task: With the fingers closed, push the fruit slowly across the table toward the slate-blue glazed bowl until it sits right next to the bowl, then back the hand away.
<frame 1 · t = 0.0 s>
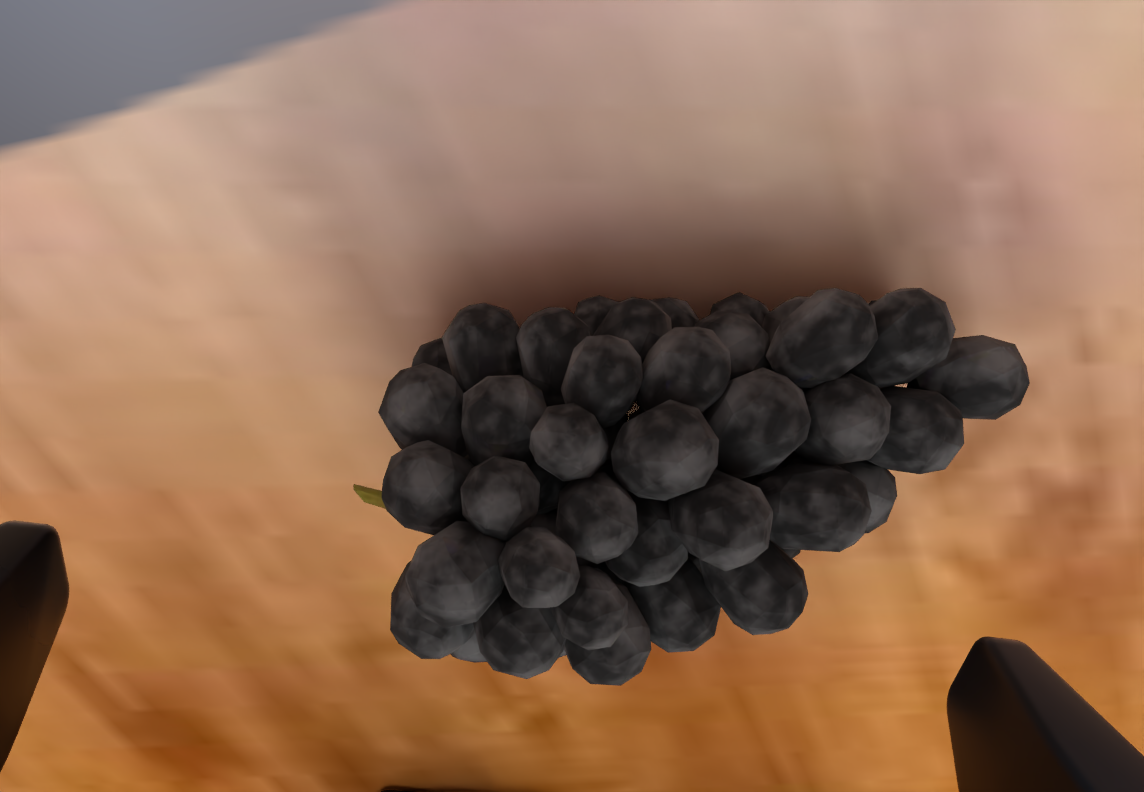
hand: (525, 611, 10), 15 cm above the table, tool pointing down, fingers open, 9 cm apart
fruit: (685, 373, 26), on the table
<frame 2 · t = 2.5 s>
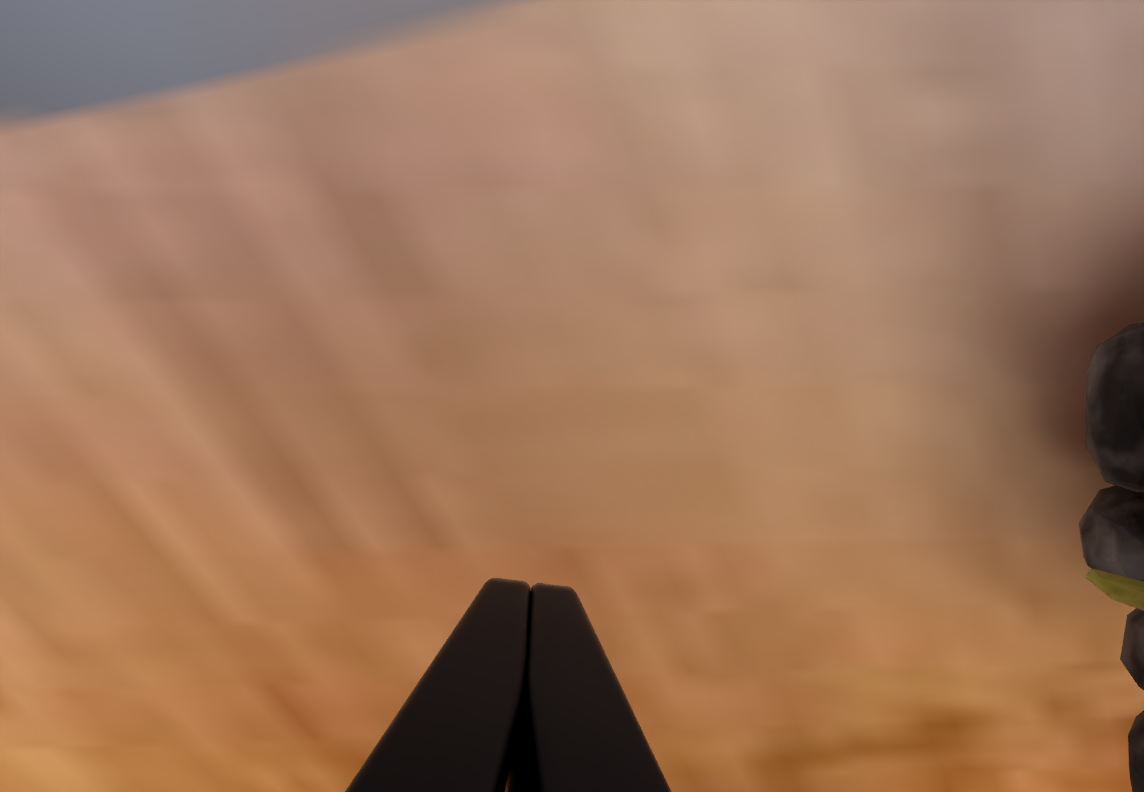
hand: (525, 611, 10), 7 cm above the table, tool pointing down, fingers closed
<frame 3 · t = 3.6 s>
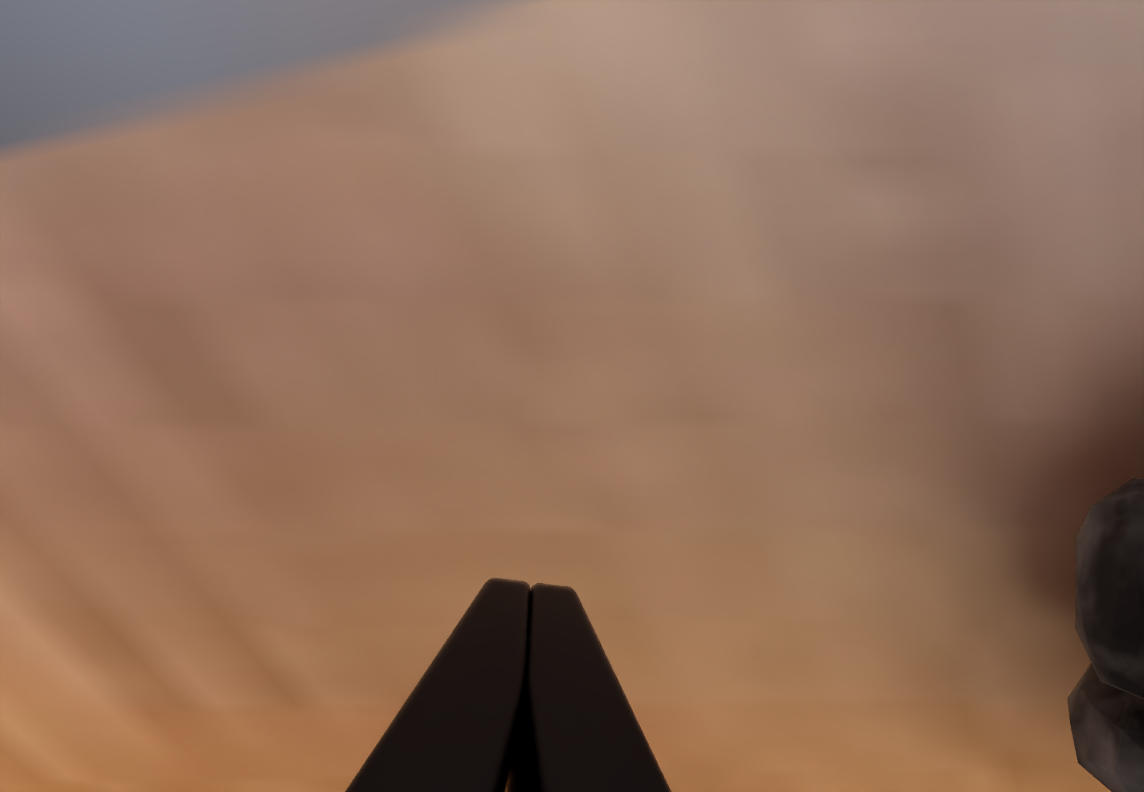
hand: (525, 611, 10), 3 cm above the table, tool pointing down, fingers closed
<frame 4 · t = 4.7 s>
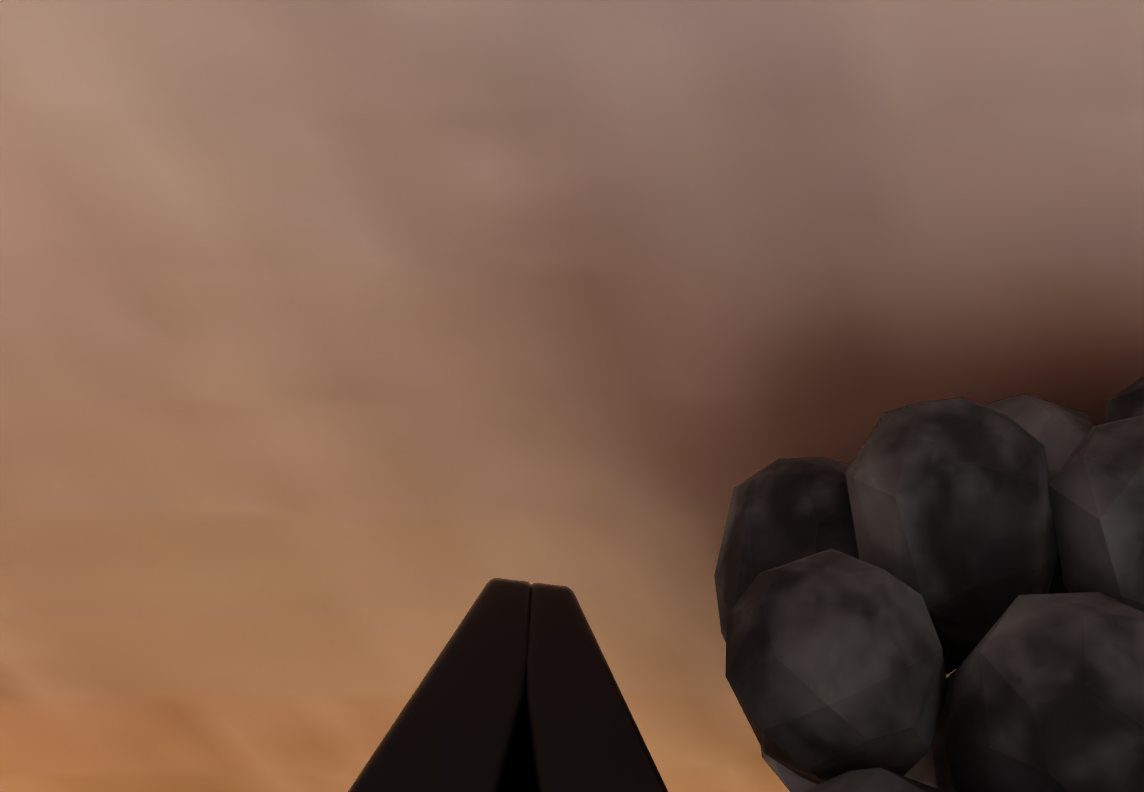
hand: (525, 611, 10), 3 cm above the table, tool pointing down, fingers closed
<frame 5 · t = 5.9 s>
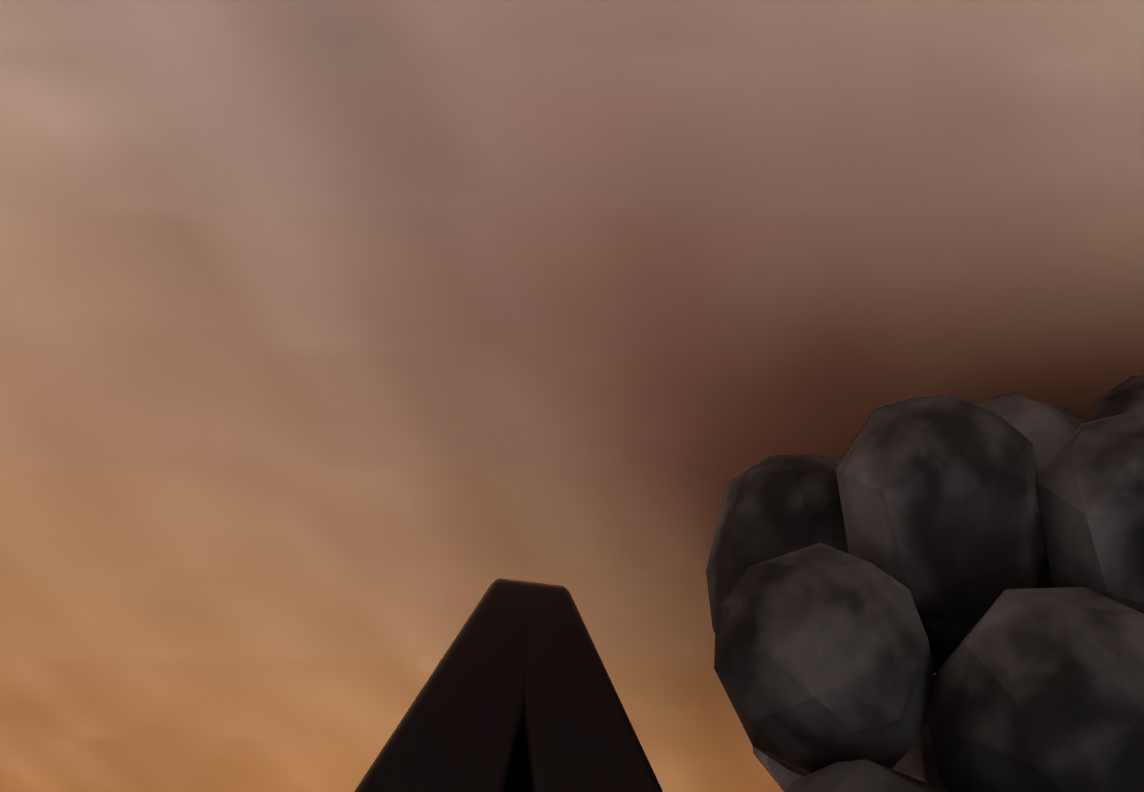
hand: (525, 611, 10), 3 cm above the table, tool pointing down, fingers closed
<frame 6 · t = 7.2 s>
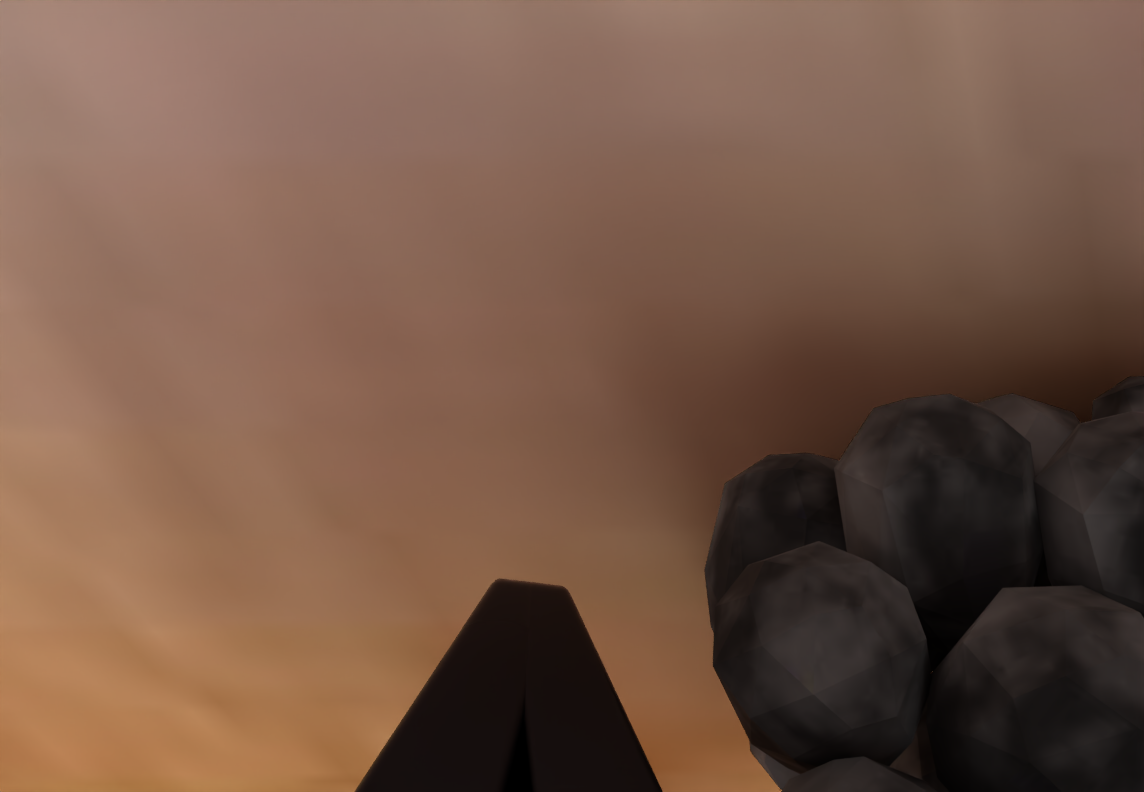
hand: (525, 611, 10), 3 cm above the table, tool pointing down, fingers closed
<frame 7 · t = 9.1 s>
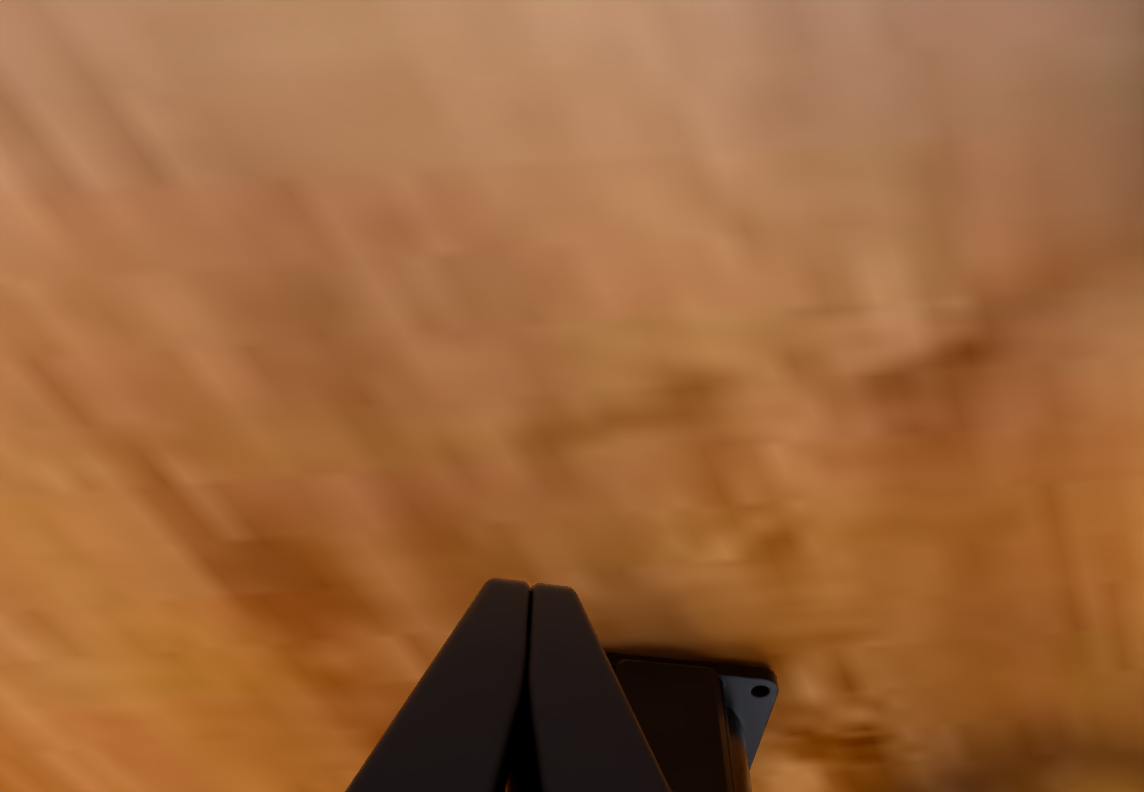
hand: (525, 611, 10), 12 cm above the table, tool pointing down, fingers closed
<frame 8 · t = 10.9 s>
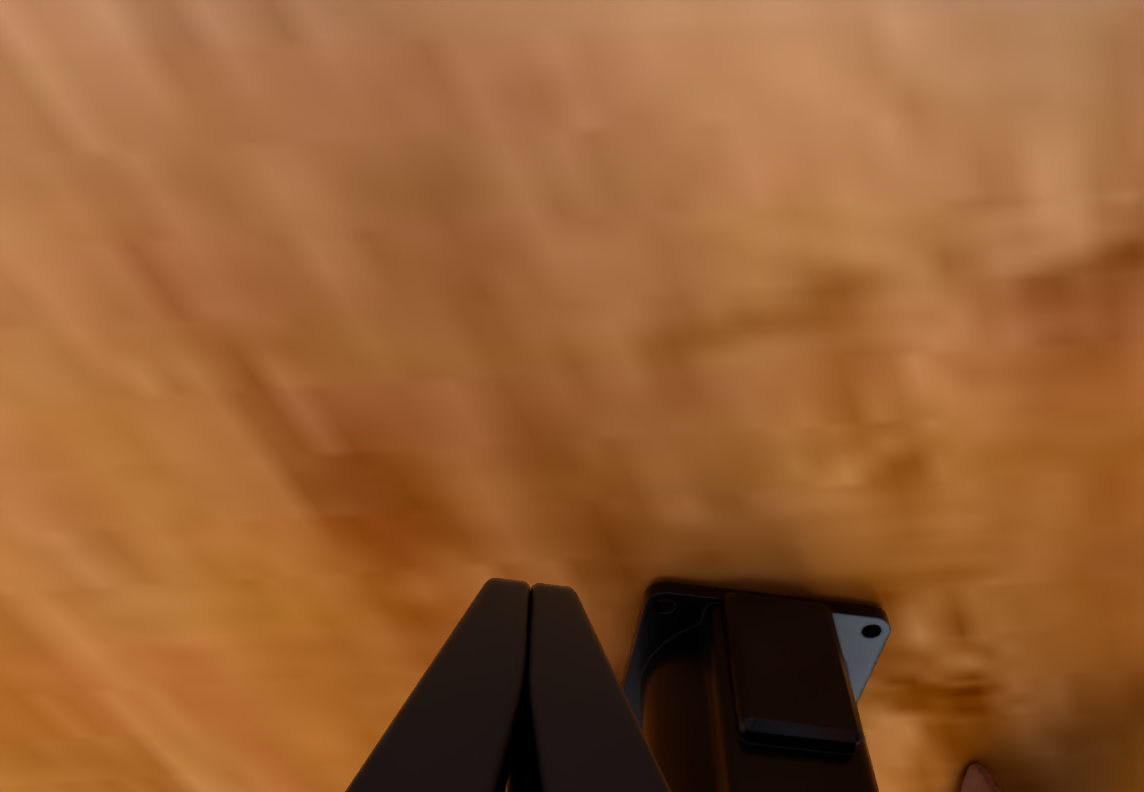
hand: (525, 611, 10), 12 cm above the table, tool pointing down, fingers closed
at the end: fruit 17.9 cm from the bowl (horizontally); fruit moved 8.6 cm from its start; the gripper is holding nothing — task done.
